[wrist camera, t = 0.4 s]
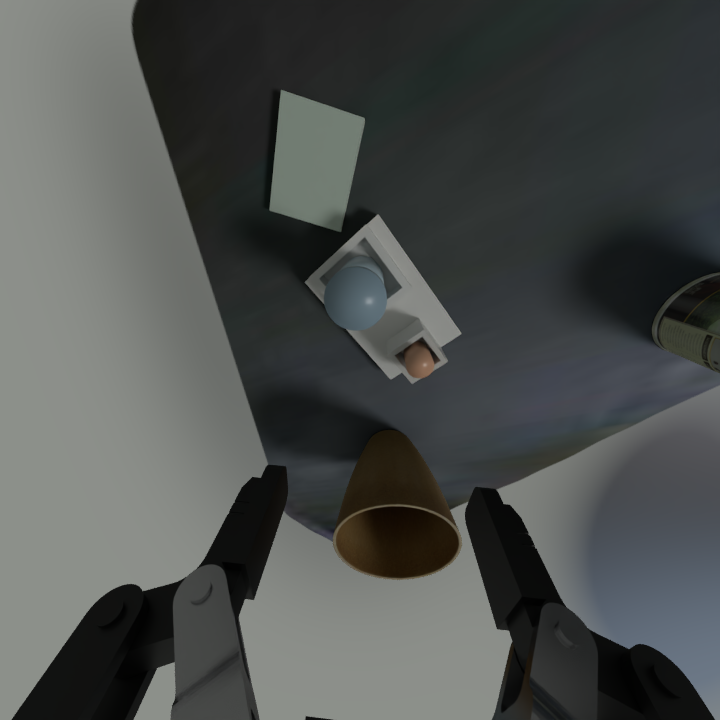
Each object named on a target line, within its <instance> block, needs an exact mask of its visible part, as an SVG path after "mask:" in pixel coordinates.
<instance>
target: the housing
mask: <svg viewBox="0 0 720 720" xmlns="http://www.w3.org/2000/svg"><path fill="white" fill-rule="evenodd" d="M357 256H366V257H370V258H372V259H373V260H375V261H376V262H377V263H378V264H379V266H380V267H381V269H382V272H383V278H384V286H385V289H386V294H387V305H386V309H385V312H384V314H383V316H382V317H381V319H380V320H379V321H378V322H377V323H376V324H375V325H373V326H372V327H370V328H367V329H365V330H358V331H354V330H348V329H346V330H347V331H348V332H349V333H350V334H351V335H352V336H353V338H354V339H355V340H356V341H357V342H358V343H359V344H360V345H361V347H362V348H363V349H364V350H365V351H366V352H367V353H368V355H369V356H370V357H371V358H372V359H373V360H374V361H375V362H376V364H377V365H378V366H379V367H380V368H381V369H382V370H383V372H384V373H385V374H386V375H387V376H388V377H389V378H390V379H392V378H394V377H396V376H397V375H399V374H400V373H403V374H404V375H405V376H406V377H407V379H408V380H409V381H410V382H411V383H412V384H413V383H414V382H416V381H418V380H419V379H421V378H414V377H412V376H411V375H409V373H408V372H407V369H406V364H405V359H404V354H403V352H404V349H405V348H406V347H408V346H409V345H411V344H412V343H414V342H415V341H420V342H423V343H425V344H426V345H427V347H428V349H429V352H430V354H431V356H432V359H433V361H434V369H433V371H434V370H435V369H437V368H439V367H440V366H442V365H444V364H445V363H447V362H448V360H447V358H446V356H445V354H444V352H443V350H442V349H441V347H442V346H444V345H445V344H447V343H448V342H450V341H451V340H453V339H454V338H456V337H457V336H459V335H461V334H462V333H461V332H460V331H459V329H458V328H457V326H456V325H455V323H454V322H453V321H452V319H451V318H450V316H449V315H448V313H447V312H446V311H445V309H444V308H443V306H442V305H441V303H440V302H439V301H438V299H437V298H436V296H435V295H434V293H433V292H432V291H431V289H430V288H429V286H428V285H427V283H426V282H425V280H424V279H423V278H422V276H421V275H420V273H419V272H418V270H417V269H416V268H415V266H414V265H413V263H412V262H411V260H410V259H409V258H408V256H407V255H406V253H405V252H404V250H403V249H402V248H401V246H400V245H399V243H398V242H397V240H396V239H395V238H394V236H393V235H392V233H391V232H390V230H389V229H388V228H387V226H386V225H385V223H384V222H383V220H382V219H381V218H380V216H379V215H377V216H376V217H374V218H373V219H372V220H371V221H370V222H369V223H368V224H366V225H365V226H364V227H363V228H361V229H360V230H359V231H358V232H357V233H356V234H355V235H354V236H353V237H352V238H351V239H350V240H349V241H347V242H346V243H345V244H344V245H343V246H342V247H341V248H340V249H339V250H338V251H337V252H336V253H335V254H333V255H332V256H331V257H330V258H329V259H328V260H327V261H326V262H325V263H324V264H323V265H322V266H320V267H319V268H318V269H317V270H316V271H315V272H314V273H313V274H312V275H311V276H310V277H309V279H307V280H306V281H305V283H306V284H307V285H308V287H309V288H310V289H311V290H312V291H313V292H314V293H315V295H316V296H317V297H318V298H319V299H320V300H321V301H322V302H323V304H324V292H325V289H326V286H327V284H328V282H329V281H330V279H331V278H332V277H333V276H334V275H335V274H336V273H337V272H338V271H340V270H341V268H342V267H343V266H344V265H345V264H346V263H347V262H348V261H349V260H350V259H352V258H354V257H357Z"/></svg>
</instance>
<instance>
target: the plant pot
mask: <svg viewBox="0 0 720 720" xmlns="http://www.w3.org/2000/svg"><path fill="white" fill-rule="evenodd" d="M333 546H334V549H335V551H336V553H337V555H338V556H339V558H341V560H342V561H343V562H344V563H345V564H347V565H348V566H350V567H351V568H353V569H354V570H356V571H359V572H361V573H364V574H366V575H369V576H373V577H377V578H384V579H393V580H402V579H414V578H419V577H424V576H428V575H431V574H434V573H436V572H438V571H440V570H442V569H444V568H445V567H447V566H448V565H450V564H451V563H452V562H453V561H454V560H455V559H456V557H457V556H458V554H459V552H460V550H461V546H462V540H461V535H460V533H459V530H458V528H457V526H456V523H455V521H454V519H453V516H452V514H451V512H450V509H449V507H448V505H447V503H446V500H445V498H444V496H443V494H442V492H441V490H440V488H439V486H438V484H437V482H436V480H435V478H434V476H433V475H432V473H431V471H430V469H429V468H428V466H427V464H426V463H425V461H424V459H423V458H422V456H421V455H420V453H419V452H418V450H417V449H416V448H415V446H414V445H413V444H412V442H411V441H410V440H409V438H408V437H407V436H406V435H404V434H403V433H401V432H398V431H395V430H384V431H380V432H378V433H376V434H374V435H373V436H372V437H371V438H370V440H369V441H368V443H367V445H366V446H365V448H364V450H363V452H362V454H361V456H360V458H359V460H358V462H357V464H356V466H355V469H354V471H353V474H352V476H351V479H350V481H349V484H348V487H347V490H346V493H345V496H344V499H343V502H342V506H341V509H340V513H339V516H338V520H337V524H336V528H335V531H334V535H333Z"/></svg>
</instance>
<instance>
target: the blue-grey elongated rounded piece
mask: <svg viewBox="0 0 720 720" xmlns="http://www.w3.org/2000/svg"><path fill="white" fill-rule="evenodd" d="M324 305H325V308H326V311H327V313H328V315H329V316H330V318H331V319H332V320H333V321H334V322H335V323H336V324H337V325H339V326H341V327H342V328H345V329H348V330H354V331H358V330H365V329H367V328H370V327H372V326H373V325H375V324H376V323H377V322H378V321H379V320H380V319H381V317H382V316H383V314H384V312H385V309H386V305H387V294H386V289H385V286H384V278H383V272H382V269H381V267H380V266H379V264H378V263H377V262H376V261H375V260H373V259H372V258H370V257H366V256H357V257H354V258H352V259H350V260H349V261H348V262H347V263H346V264H345V265H344V266H343V267H342V268H341V270H340V271H338V272H337V273H336V274H335V275H334V276H333V277H332V278H331V279H330V281H329V282H328V284H327V286H326V289H325V292H324Z"/></svg>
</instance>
